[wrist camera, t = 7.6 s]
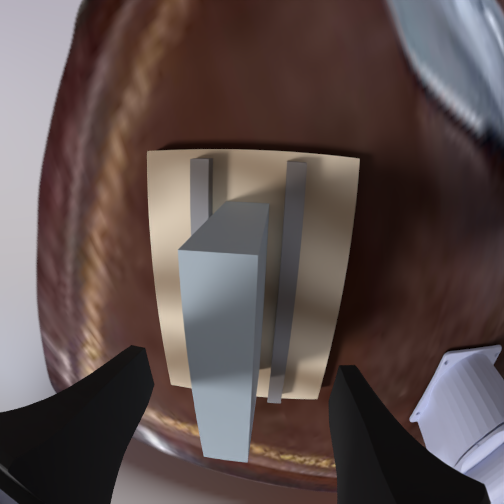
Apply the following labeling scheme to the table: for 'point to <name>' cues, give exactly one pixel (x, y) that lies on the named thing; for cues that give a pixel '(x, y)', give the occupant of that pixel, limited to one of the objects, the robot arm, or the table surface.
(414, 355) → the table surface
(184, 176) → the track board
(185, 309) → the grey rectangular block
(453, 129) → the table surface
